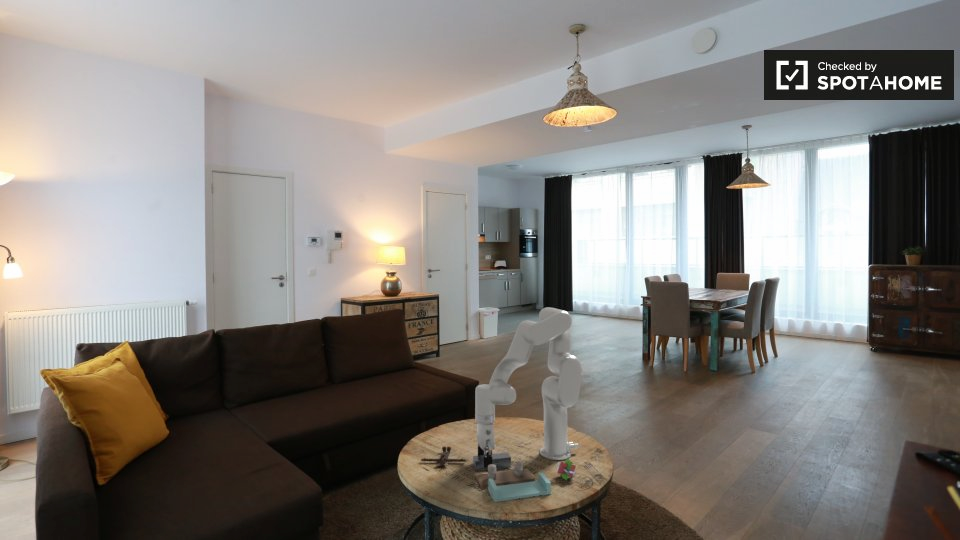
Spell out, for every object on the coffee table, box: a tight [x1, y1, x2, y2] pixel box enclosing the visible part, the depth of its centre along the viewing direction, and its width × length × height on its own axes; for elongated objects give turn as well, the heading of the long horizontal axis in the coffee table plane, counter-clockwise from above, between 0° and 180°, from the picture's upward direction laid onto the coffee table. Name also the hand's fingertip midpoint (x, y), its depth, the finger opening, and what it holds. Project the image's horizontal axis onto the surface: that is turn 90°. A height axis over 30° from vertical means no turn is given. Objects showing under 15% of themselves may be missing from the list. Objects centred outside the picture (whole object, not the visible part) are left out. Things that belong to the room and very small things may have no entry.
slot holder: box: [487, 471, 552, 503], centre depth 162 cm, size 20×8×4 cm, turn 103°
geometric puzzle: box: [555, 458, 577, 482], centre depth 172 cm, size 7×7×8 cm
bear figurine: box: [420, 446, 467, 468], centre depth 188 cm, size 18×4×14 cm
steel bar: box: [472, 452, 512, 471], centre depth 182 cm, size 14×4×4 cm, turn 102°
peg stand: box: [475, 460, 536, 489], centre depth 172 cm, size 20×8×6 cm, turn 103°
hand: (484, 461), depth 182 cm, fingers open, 9 cm apart
